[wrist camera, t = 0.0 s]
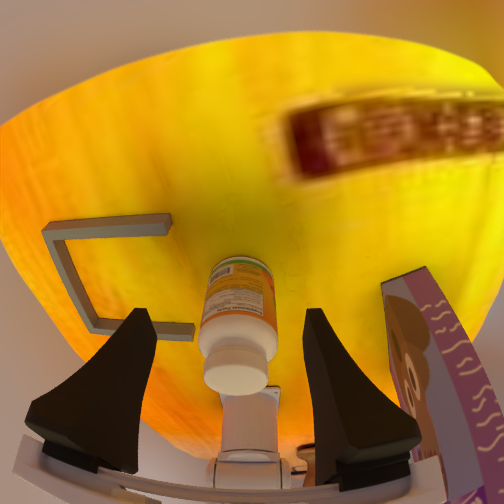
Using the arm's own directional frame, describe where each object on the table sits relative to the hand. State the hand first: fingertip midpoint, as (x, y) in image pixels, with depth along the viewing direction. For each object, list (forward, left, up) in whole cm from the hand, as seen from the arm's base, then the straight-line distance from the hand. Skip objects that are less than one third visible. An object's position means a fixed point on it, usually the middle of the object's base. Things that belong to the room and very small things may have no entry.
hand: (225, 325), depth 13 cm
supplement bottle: (-6, 0, -10) cm, 12 cm away
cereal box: (-14, -18, -10) cm, 25 cm away
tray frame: (-6, +10, -10) cm, 15 cm away
